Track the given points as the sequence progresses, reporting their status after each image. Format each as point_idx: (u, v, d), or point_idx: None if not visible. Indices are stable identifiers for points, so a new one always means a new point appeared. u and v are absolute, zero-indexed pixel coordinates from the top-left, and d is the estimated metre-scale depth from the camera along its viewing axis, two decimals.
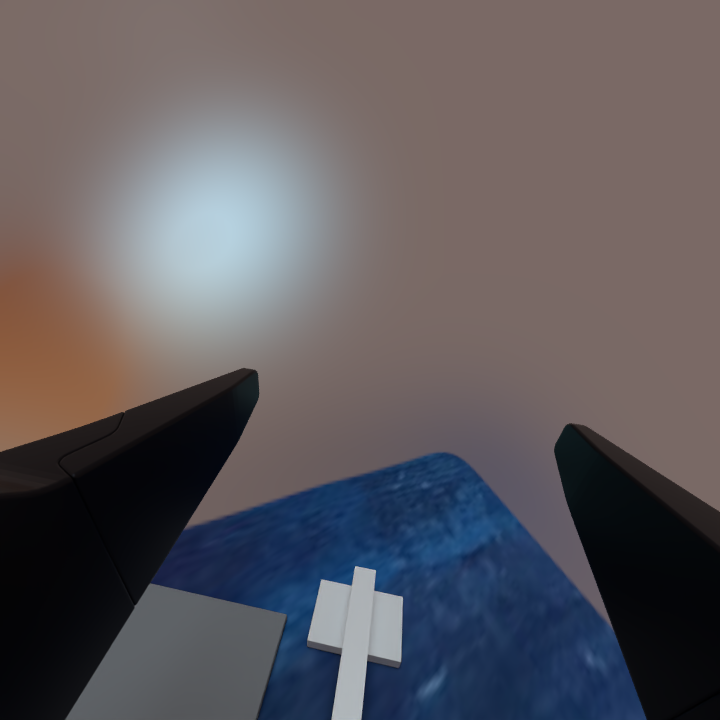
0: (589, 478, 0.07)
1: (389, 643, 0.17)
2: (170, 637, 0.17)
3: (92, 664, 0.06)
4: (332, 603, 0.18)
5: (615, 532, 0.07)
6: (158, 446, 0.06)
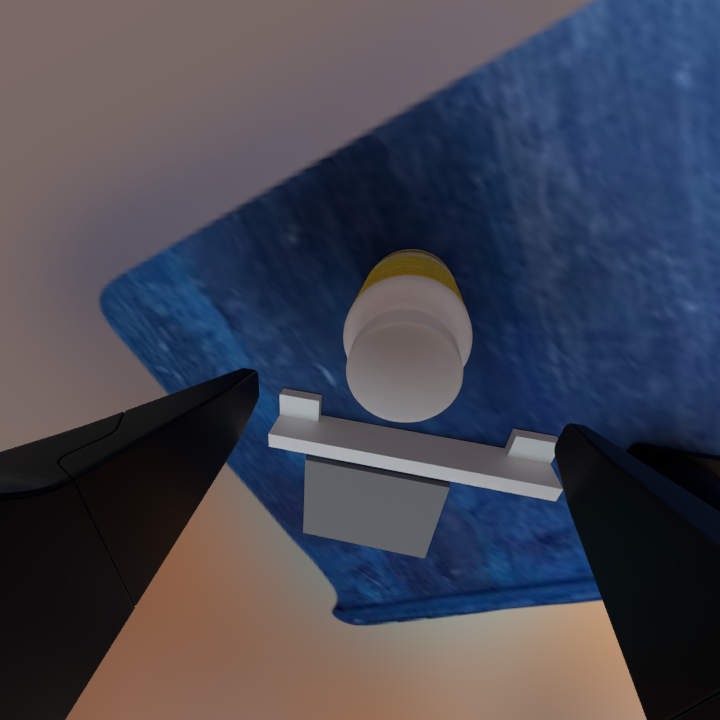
0: (589, 478, 0.07)
1: (310, 407, 0.23)
2: (326, 507, 0.29)
3: (92, 664, 0.06)
4: None
5: (615, 532, 0.07)
6: (158, 446, 0.06)
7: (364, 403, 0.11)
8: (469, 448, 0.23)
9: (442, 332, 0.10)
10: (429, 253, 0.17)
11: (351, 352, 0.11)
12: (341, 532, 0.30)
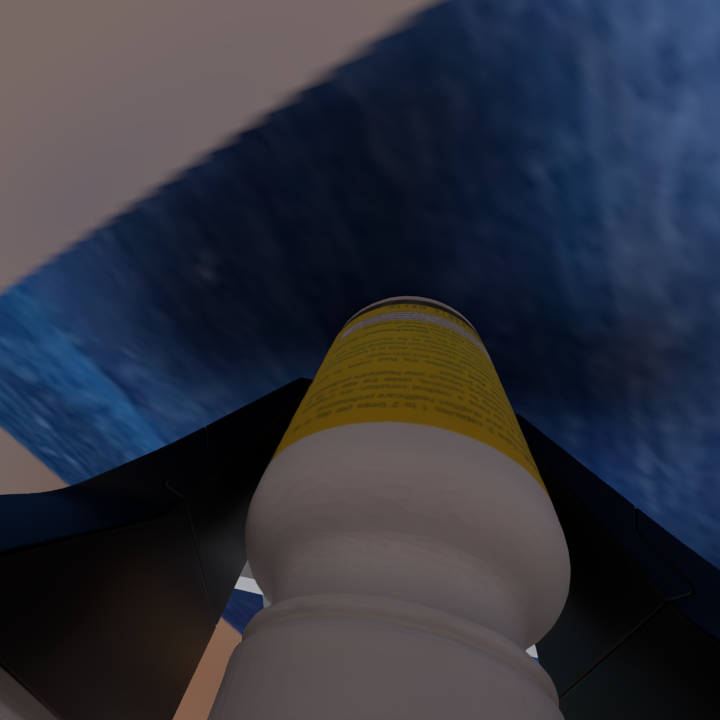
0: None
1: None
2: None
3: (182, 688, 0.05)
4: None
5: None
6: (245, 463, 0.06)
7: None
8: None
9: None
10: (442, 305, 0.10)
11: None
12: None
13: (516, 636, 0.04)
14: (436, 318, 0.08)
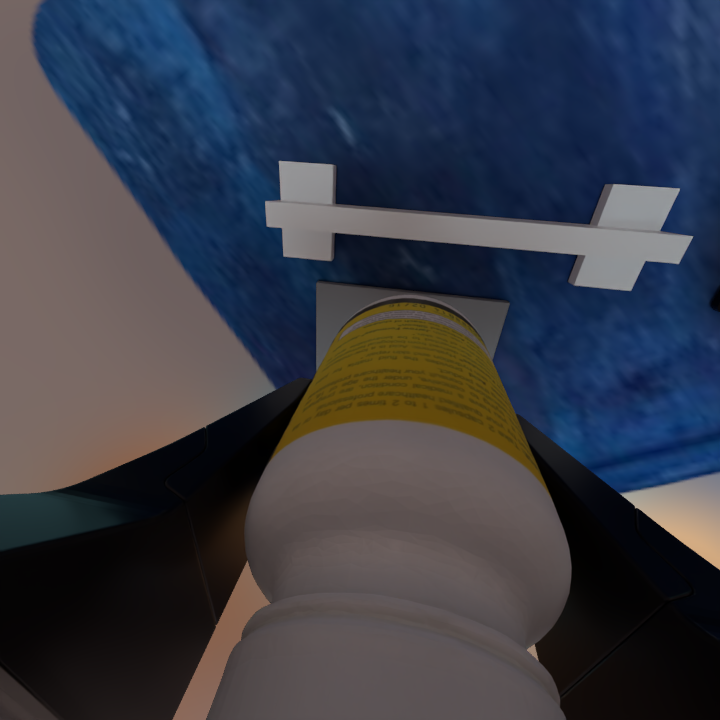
0: None
1: (321, 178, 0.17)
2: None
3: (183, 688, 0.05)
4: (300, 241, 0.19)
5: None
6: (245, 463, 0.06)
7: None
8: (542, 221, 0.17)
9: None
10: (442, 304, 0.10)
11: None
12: None
13: (517, 635, 0.04)
14: (436, 317, 0.08)
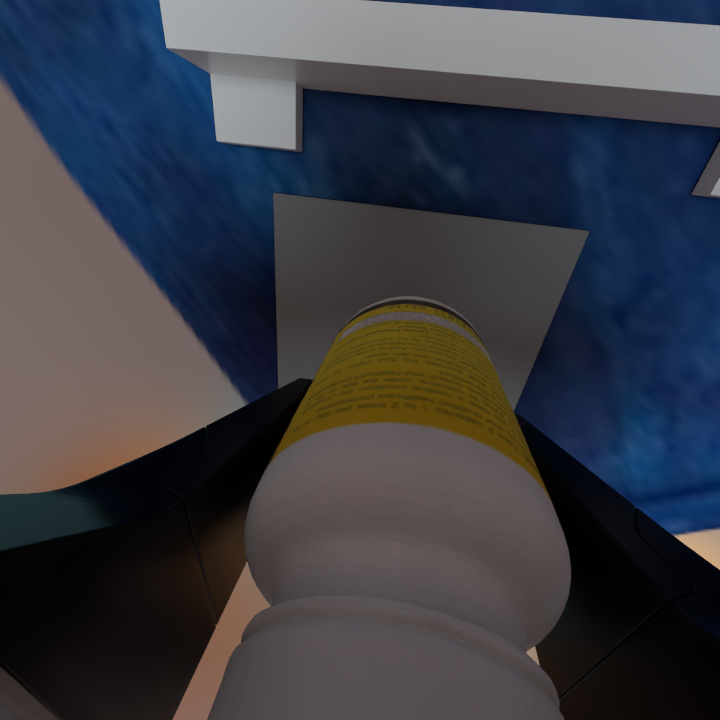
0: None
1: None
2: (319, 330, 0.15)
3: (183, 687, 0.05)
4: (243, 111, 0.11)
5: None
6: (245, 463, 0.06)
7: None
8: None
9: None
10: (442, 305, 0.10)
11: None
12: None
13: (516, 638, 0.04)
14: (436, 318, 0.08)
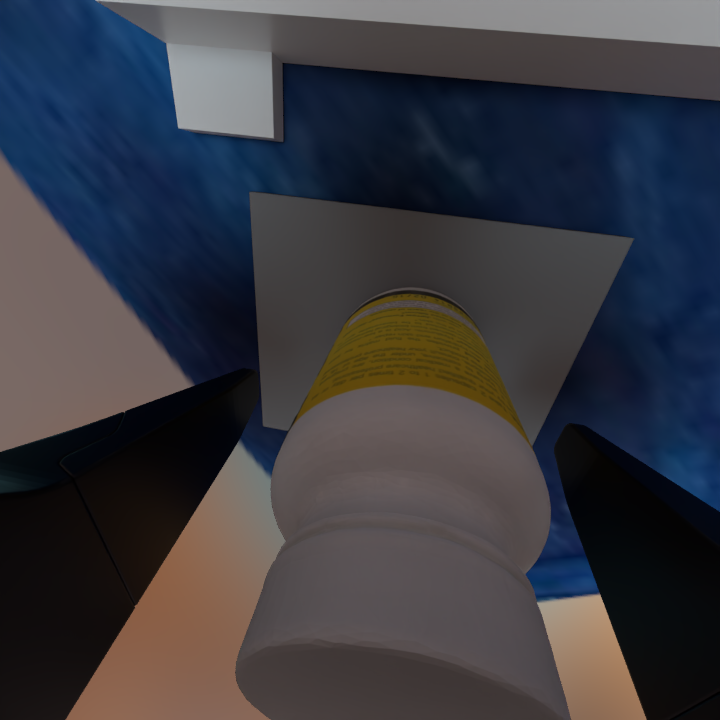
0: (589, 478, 0.07)
1: None
2: (307, 351, 0.13)
3: (92, 664, 0.06)
4: (208, 90, 0.09)
5: (615, 532, 0.07)
6: (158, 446, 0.06)
7: None
8: None
9: (517, 648, 0.03)
10: (441, 295, 0.10)
11: (241, 660, 0.04)
12: None
13: (502, 553, 0.05)
14: (436, 306, 0.09)
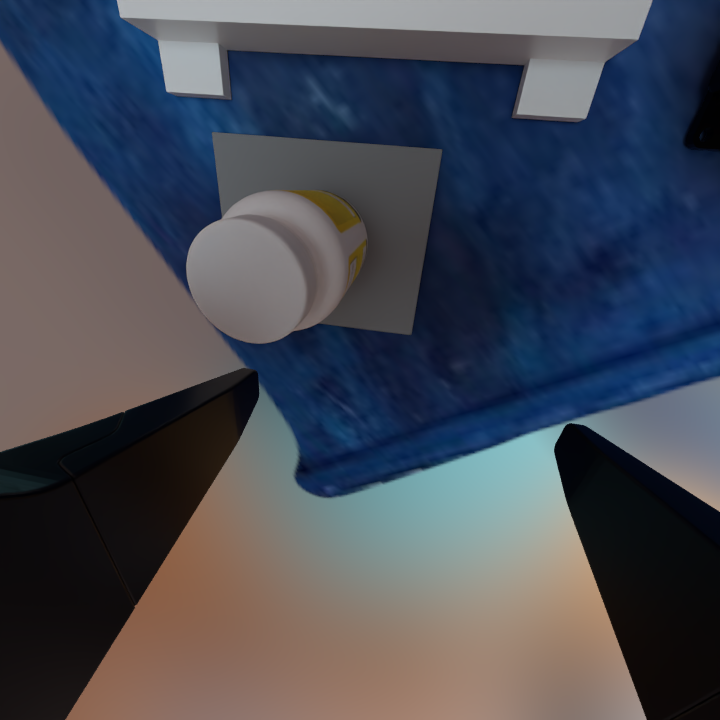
0: (589, 478, 0.07)
1: None
2: None
3: (92, 664, 0.06)
4: (183, 67, 0.15)
5: (615, 532, 0.07)
6: (158, 446, 0.06)
7: (216, 322, 0.11)
8: None
9: (276, 230, 0.09)
10: (333, 193, 0.17)
11: (187, 260, 0.10)
12: None
13: None
14: (321, 191, 0.15)
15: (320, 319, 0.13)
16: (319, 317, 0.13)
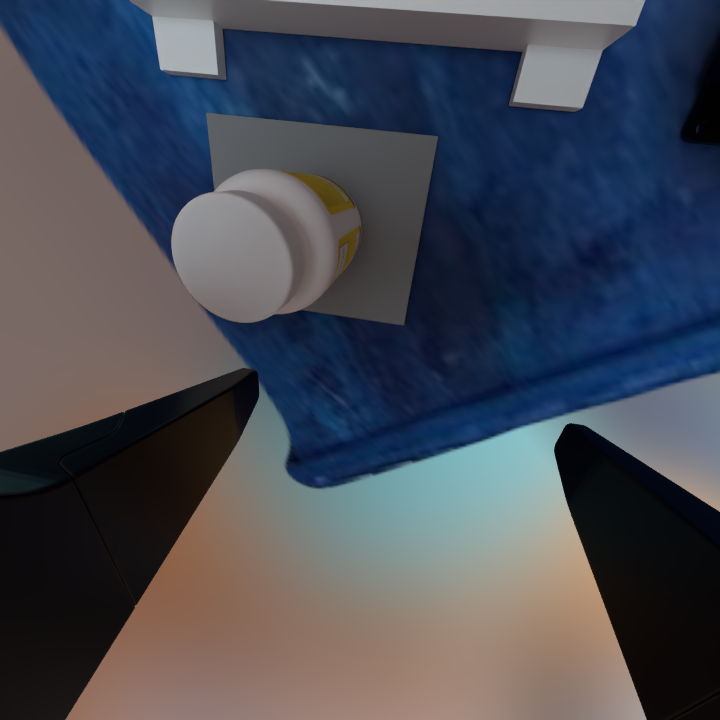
0: (589, 478, 0.07)
1: None
2: None
3: (92, 664, 0.06)
4: (177, 44, 0.15)
5: (615, 532, 0.07)
6: (158, 446, 0.06)
7: (201, 300, 0.11)
8: None
9: (262, 205, 0.09)
10: (327, 178, 0.16)
11: (172, 235, 0.10)
12: None
13: None
14: (315, 175, 0.15)
15: (308, 302, 0.13)
16: (308, 300, 0.13)
